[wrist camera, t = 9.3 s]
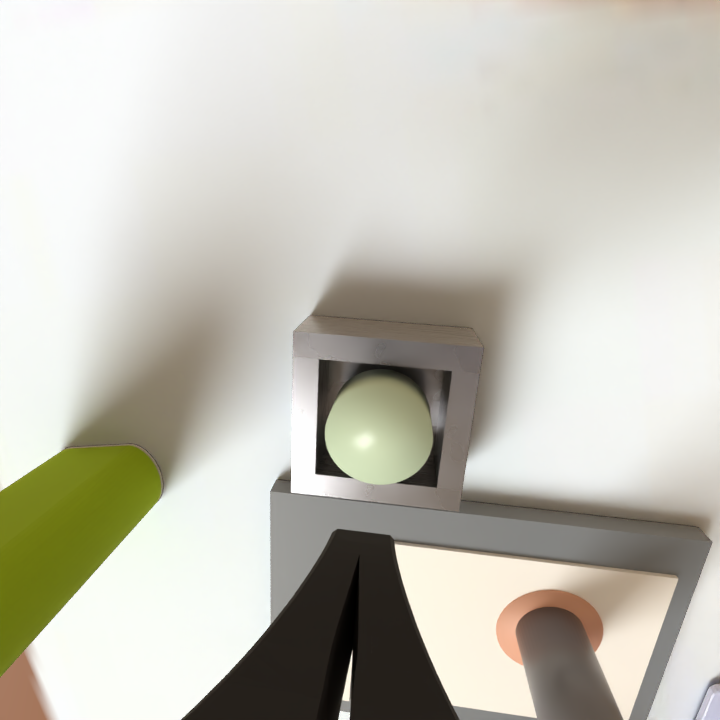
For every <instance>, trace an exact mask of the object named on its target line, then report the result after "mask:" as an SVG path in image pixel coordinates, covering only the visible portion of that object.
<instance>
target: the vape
mask: <svg viewBox="0 0 720 720" xmlns="http://www.w3.org/2000/svg"><path fill="white" fill-rule="evenodd" d="M162 491H163V480H162V475H161V472H160V469H159V467H158V465H157V463H156V462H155V460H154V459H153V457H152V456H151V455H150V454H149V453H148V452H147V451H146V450H144V449H143V448H141V447H140V446H138V445H135V444H117V445H99V446H81V447H69V448H66V449H64V450H63V451H61V452H60V453H58V454H57V455H55V456H54V457H52V458H51V459H49V460H48V461H46V462H45V463H43V464H41V465H40V466H38V467H37V468H35V469H34V470H32V471H31V472H29V473H28V474H26V475H25V476H23V477H22V478H20V479H19V480H17V481H16V482H14V483H13V484H11V485H10V486H8V487H7V488H5V489H4V490H2V491H1V492H0V677H1V676H2V675H3V674H4V673H5V671H6V670H7V669H8V668H9V667H10V666H11V665H12V664H13V663H14V661H15V660H16V659H17V658H18V657H19V656H20V654H22V652H23V651H24V650H25V649H26V648H27V647H28V646H29V645H30V644H31V642H32V641H33V640H34V639H35V638H36V637H37V636H38V635H39V633H40V632H41V631H42V630H43V629H44V628H45V627H46V626H47V625H48V623H49V622H50V621H51V620H52V619H53V618H54V617H55V616H56V614H57V613H58V612H59V611H60V610H61V609H62V608H63V607H64V606H65V604H66V603H67V602H68V601H69V600H70V599H71V598H72V597H73V595H74V594H75V593H76V592H77V591H78V590H79V589H80V588H81V586H82V585H83V584H84V583H85V582H86V581H87V580H88V579H89V578H90V576H91V575H92V574H93V573H94V572H95V571H96V570H97V569H98V567H99V566H100V565H101V564H102V563H103V562H104V561H105V560H106V559H107V557H108V556H109V555H110V554H111V553H112V552H113V551H114V550H115V548H116V547H117V546H118V545H119V544H120V543H121V542H122V541H123V540H124V538H125V537H126V536H127V535H128V534H129V533H130V532H131V531H132V529H133V528H134V527H135V526H136V525H137V524H138V523H139V522H140V521H141V519H142V518H143V517H144V516H145V515H146V514H147V513H148V512H149V510H150V509H151V508H152V507H153V506H154V505H155V504H156V503H157V502H158V500H159V499H160V497H161V495H162Z"/></svg>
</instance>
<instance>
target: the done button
mask: <svg viewBox="0 0 720 720" xmlns="http://www.w3.org/2000/svg"><path fill="white" fill-rule="evenodd" d="M325 441H326V446H327V449H328V452H329V454H330V456H331V458H332V459H333V461H334V462H335V463H336V465H337V466H338V467H339V468H340V469H341V470H342V471H343V472H345V473H346V474H348V475H349V476H351V477H353V478H354V479H357V480H359V481H362V482H365V483H369V484H377V485H385V484H393V483H397V482H400V481H403V480H405V479H407V478H409V477H411V476H412V475H414V474H415V473H416V472H417V471H419V470H420V468H421V467H422V466H423V465H424V464H425V462H426V461H427V459H428V457H429V455H430V452H431V449H432V444H433V431H432V423H431V414H430V407H429V403H428V400H427V398H426V396H425V394H424V392H423V391H422V389H421V388H420V387H419V386H418V385H417V384H416V383H415V382H414V381H413V380H412V379H410V378H409V377H407V376H406V375H404V374H401V373H399V372H396V371H393V370H387V369H374V370H368V371H365V372H362V373H359V374H357V375H355V376H354V377H352V378H351V379H349V380H348V381H347V382H346V383H345V384H344V385H343V387H342V388H341V389H340V391H339V392H338V394H337V397H336V399H335V401H334V404H333V406H332V409H331V411H330V414H329V416H328V419H327V422H326V426H325Z"/></svg>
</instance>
